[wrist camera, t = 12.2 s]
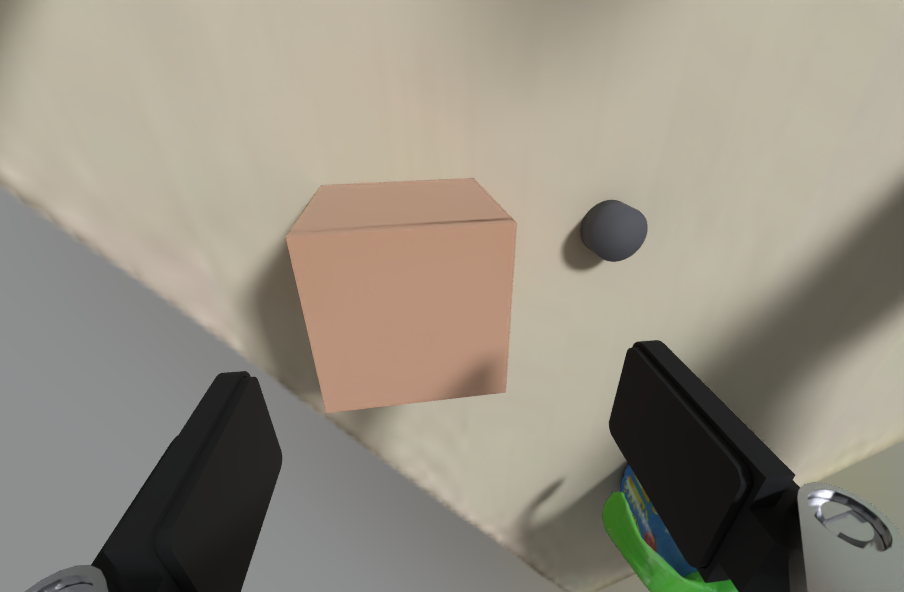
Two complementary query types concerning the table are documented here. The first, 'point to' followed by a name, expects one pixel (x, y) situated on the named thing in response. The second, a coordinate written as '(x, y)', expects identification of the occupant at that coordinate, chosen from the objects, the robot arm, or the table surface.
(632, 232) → the dark grey pebble
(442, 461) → the table surface
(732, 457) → the robot arm
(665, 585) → the snack cup
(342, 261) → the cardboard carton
